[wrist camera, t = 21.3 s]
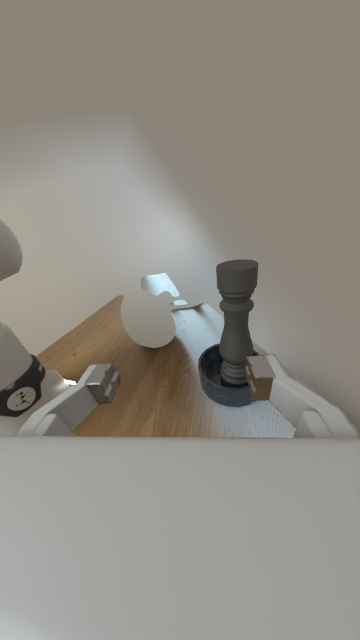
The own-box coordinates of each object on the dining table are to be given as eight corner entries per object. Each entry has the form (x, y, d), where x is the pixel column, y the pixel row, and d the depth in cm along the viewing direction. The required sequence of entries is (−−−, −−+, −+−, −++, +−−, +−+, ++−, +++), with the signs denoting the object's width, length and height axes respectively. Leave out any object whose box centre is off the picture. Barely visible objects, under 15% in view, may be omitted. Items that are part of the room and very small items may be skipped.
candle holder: (252, 375, 39) (261, 258, 26) (249, 399, 34) (258, 271, 21) (224, 369, 41) (220, 260, 29) (217, 390, 37) (209, 272, 24)
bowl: (191, 396, 37) (188, 378, 34) (211, 355, 47) (209, 338, 44) (258, 418, 31) (261, 399, 28) (265, 366, 41) (267, 348, 38)
